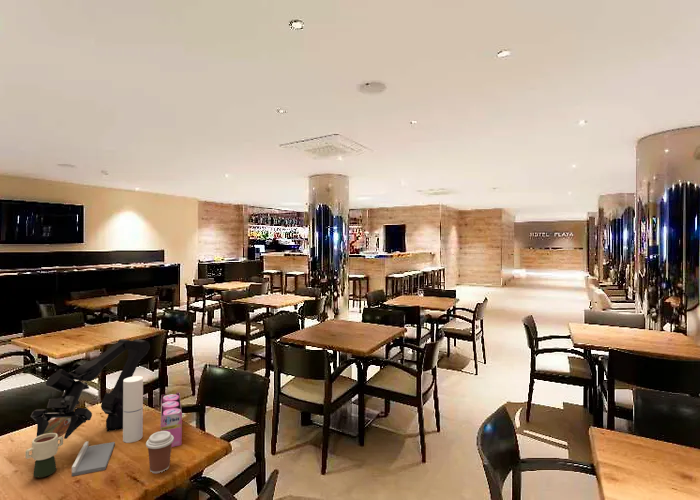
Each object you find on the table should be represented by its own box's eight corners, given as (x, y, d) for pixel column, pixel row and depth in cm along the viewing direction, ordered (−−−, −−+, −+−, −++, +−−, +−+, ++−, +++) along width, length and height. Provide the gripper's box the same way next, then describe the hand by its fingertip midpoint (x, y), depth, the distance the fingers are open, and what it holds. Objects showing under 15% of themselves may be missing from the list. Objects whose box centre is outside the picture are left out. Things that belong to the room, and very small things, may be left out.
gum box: (160, 423, 168) (160, 393, 168) (179, 419, 172) (180, 390, 171) (160, 449, 147) (160, 416, 146) (182, 445, 150) (182, 412, 150)
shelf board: (114, 444, 150) (114, 436, 150) (105, 469, 133) (105, 461, 133) (84, 449, 146) (84, 441, 146) (70, 476, 129) (70, 467, 129)
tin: (43, 447, 147) (43, 426, 147) (36, 446, 147) (36, 425, 147) (72, 428, 162) (72, 409, 162) (65, 428, 162) (65, 409, 162)
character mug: (58, 463, 137) (58, 428, 137) (67, 469, 133) (67, 433, 133) (21, 479, 127) (21, 441, 127) (30, 486, 124) (30, 447, 124)
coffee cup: (139, 472, 132) (139, 439, 132) (160, 458, 141) (160, 427, 140) (158, 478, 129) (159, 444, 129) (179, 463, 137) (179, 431, 137)
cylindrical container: (124, 444, 150) (125, 383, 149) (121, 437, 155) (121, 378, 155) (144, 438, 154) (144, 379, 154) (140, 432, 160) (140, 374, 159)
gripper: (34, 388, 138) (10, 432, 127) (88, 386, 140) (69, 430, 129) (48, 400, 146) (27, 443, 135) (99, 399, 148) (82, 440, 137)
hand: (51, 439), depth 134 cm, fingers open, 9 cm apart
